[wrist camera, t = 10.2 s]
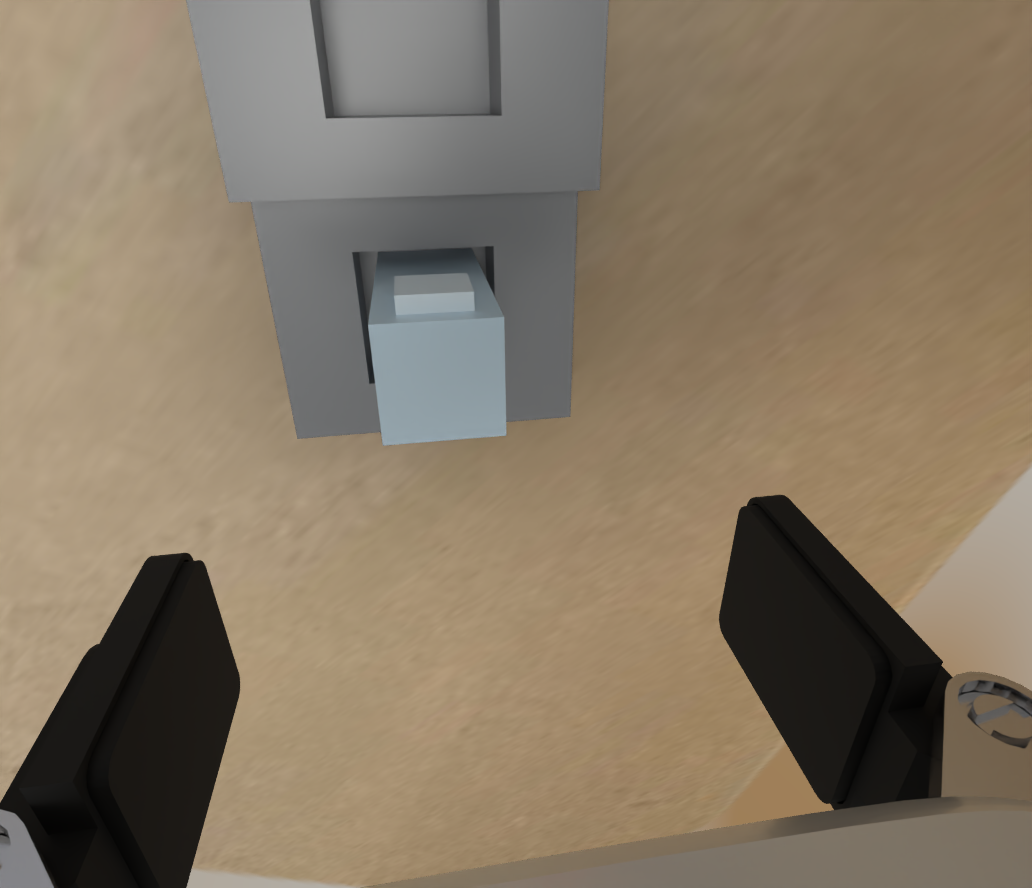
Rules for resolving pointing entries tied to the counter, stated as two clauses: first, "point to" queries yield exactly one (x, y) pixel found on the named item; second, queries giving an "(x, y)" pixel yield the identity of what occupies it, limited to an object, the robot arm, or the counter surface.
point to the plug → (436, 348)
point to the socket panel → (408, 170)
